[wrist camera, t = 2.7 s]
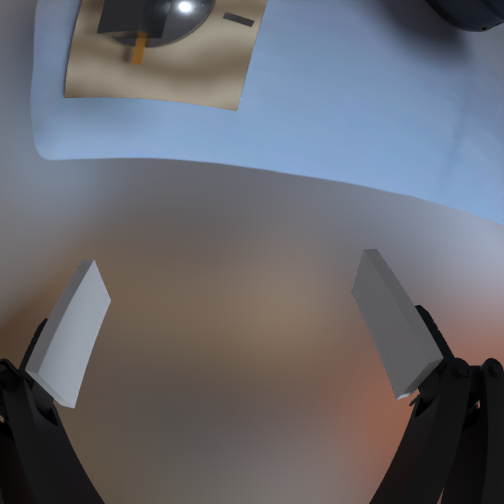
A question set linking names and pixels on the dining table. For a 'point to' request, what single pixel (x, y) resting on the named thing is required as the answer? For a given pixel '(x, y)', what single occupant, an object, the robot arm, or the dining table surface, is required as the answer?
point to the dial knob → (152, 22)
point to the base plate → (168, 59)
